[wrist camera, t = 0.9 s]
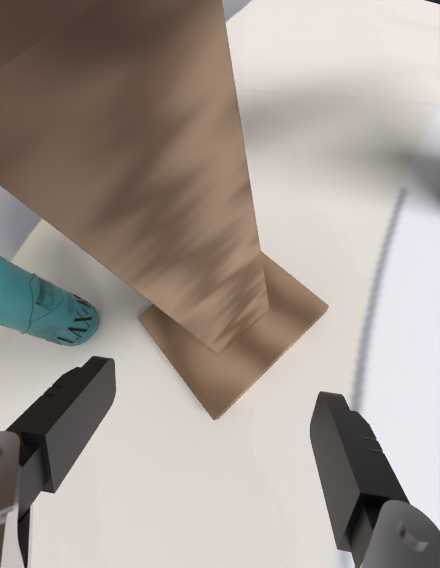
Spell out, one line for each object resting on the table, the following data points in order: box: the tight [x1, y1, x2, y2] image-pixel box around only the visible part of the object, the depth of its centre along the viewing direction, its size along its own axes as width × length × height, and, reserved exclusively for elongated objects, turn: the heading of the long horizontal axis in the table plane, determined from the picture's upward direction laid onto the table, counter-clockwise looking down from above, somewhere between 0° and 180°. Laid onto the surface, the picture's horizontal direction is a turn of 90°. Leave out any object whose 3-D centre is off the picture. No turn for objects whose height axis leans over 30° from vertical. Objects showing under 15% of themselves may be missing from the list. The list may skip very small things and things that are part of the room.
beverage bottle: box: [0, 256, 98, 346], centre depth 30 cm, size 6×7×20 cm
